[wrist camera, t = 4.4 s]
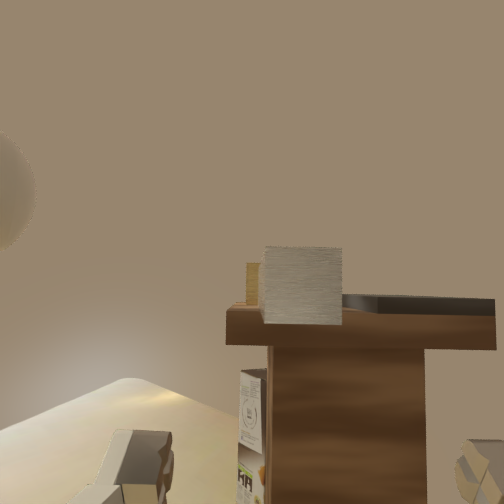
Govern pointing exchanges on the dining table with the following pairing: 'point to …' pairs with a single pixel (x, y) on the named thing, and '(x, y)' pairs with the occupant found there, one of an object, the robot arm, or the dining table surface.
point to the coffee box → (252, 437)
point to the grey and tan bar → (297, 285)
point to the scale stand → (355, 394)
